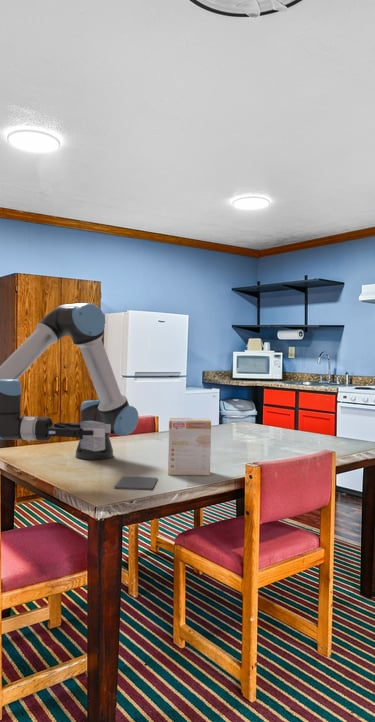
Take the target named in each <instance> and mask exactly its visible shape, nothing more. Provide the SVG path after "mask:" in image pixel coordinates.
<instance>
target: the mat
mask: <svg viewBox="0 0 375 722" xmlns="http://www.w3.org/2000/svg"><path fill="white" fill-rule="evenodd" d="M158 479H159V478H158V477H154V476H153V477H152V476H149V477H148V476H125V475H124V476H122V477H121V478H120V479H119V480H118V482H117V483H116V484H115V486H114V489H116V490H117V489H118V490H139V491H140V490H143V491H153V490H154V488H155V486H156V484H157V482H158Z"/></svg>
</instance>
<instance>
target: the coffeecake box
mask: <svg viewBox="0 0 375 722" xmlns="http://www.w3.org/2000/svg"><path fill="white" fill-rule="evenodd" d="M211 437H212V421H211V419H210V418H185V417H184V418H179V417H178V418H175V417H173V418H171V417H170V418H169V421H168V452H167V453H168V457H167V461H168V463H167V464H168V465H167V466H168V467H167V474H168V476H169V475H170V476H211V446H212V445H211V440H212V439H211Z"/></svg>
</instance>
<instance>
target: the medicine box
mask: <svg viewBox="0 0 375 722" xmlns="http://www.w3.org/2000/svg"><path fill="white" fill-rule="evenodd" d="M80 423H81V424H80V428H82V429H83V428H105V423H102V422H96V421H83V422H81V421H80ZM79 440H80V448H83V449H87V450H91V451H101V450H105V436H104V437H83V439H79Z"/></svg>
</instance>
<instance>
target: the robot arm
mask: <svg viewBox="0 0 375 722" xmlns="http://www.w3.org/2000/svg"><path fill="white" fill-rule="evenodd" d="M105 324H106V316H105V314H104V312H103V311H102V309H101V308H100V306H98V305H96V304H94V303H89V302H80V303H68V304H67V303H65V304H62V305H58V306H57V307H55V308H53V309H52V310H51V311H50V312H49V313H48V314H46V315H45V316H44V317H43V318H42V319H41V320H40V321H39V322H38V323H37V324H36V325H35V330H34V331H33V332H32V333H31V334H30V335H29V336H28V337H27V338H26V340H25V341H24V342H22V343H21V345H20V346H18V347H17V349H15V350H14V352H12V354H11V355H10V356H9V357H8V358H7V359H6V360H5V361H4V362H2V364H1V365H0V440H3V441H5V440H8V441H9V440H10V441H11V440H12V441H13V440H15V441H18V440H19V441H24V440H25V441H27V442H28V443H30V442H31V441H39V442H40V441H44V442H45V441H46V442H48V441H50V440H51V439H52V437H57V438H58V437H59V438H60V437H61V438H76V439H79V440H78V444H77V446H76V449H75V457H76V458H78V459H81V460H90V461H93V460H104V459H105V460H107V459H111V458H113V457H114V450H113V446H112V442H111V439H110V435H111V434H112V435H116V436H128V435H130V434H132V433H133V432H134V431H135V430H136V428H137V426H138V423H139V418H140V417H139V412H138V410H137V408H135V407H134V405H130V404H129V400H128V398H127V396H126V395H124V394H122V393H121V391H120V387H119V385H118V381H117V378H116V376H115V374H114V370H113V368H112V366H111V362H110V360H109V357H108V353H107V351H106V348H105V345H104V343H103V340H102V339H103V337H104V335H105V333H104V330H105V326H106V325H105ZM66 336H70V338H71V340H72V342H73V345H74V346H76V347H78V348H79V349H80V352H81V355H82V359H83V360H84V363H85V366H86V370H87V371H88V373H89V376H90V379H91V382H92V385H93V387H94V390H95V392H96V396H97V398H98V399H95V400H84V401H83V402H82V403H81V407H80V422H64V421H63V422H56V423H54V424H53V419H52V418H51V417H50V416H40V417H38V416H22V415H21V407H22V406H21V405H22V403H21V402H22V385H21V381H20V378H21V377H22V376H23V375H24V373H25V372H27V370H29V368H30V367H32V365H33V364H34V363H35V362H36V361H37V359H38V358H40V357H41V355H42V354H43V353H44V352H45V351H46V350H47V349H48V348H49V347H51V345H52V344H56V343H58V342H59V341H60V339H62V338H64V337H66ZM83 421H96V422H102V423H105V428H83V429H82V428H80V424H81V422H83ZM104 436H105V450H101V451H91V450H87V449H83V448H80V439H83V437H104Z"/></svg>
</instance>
